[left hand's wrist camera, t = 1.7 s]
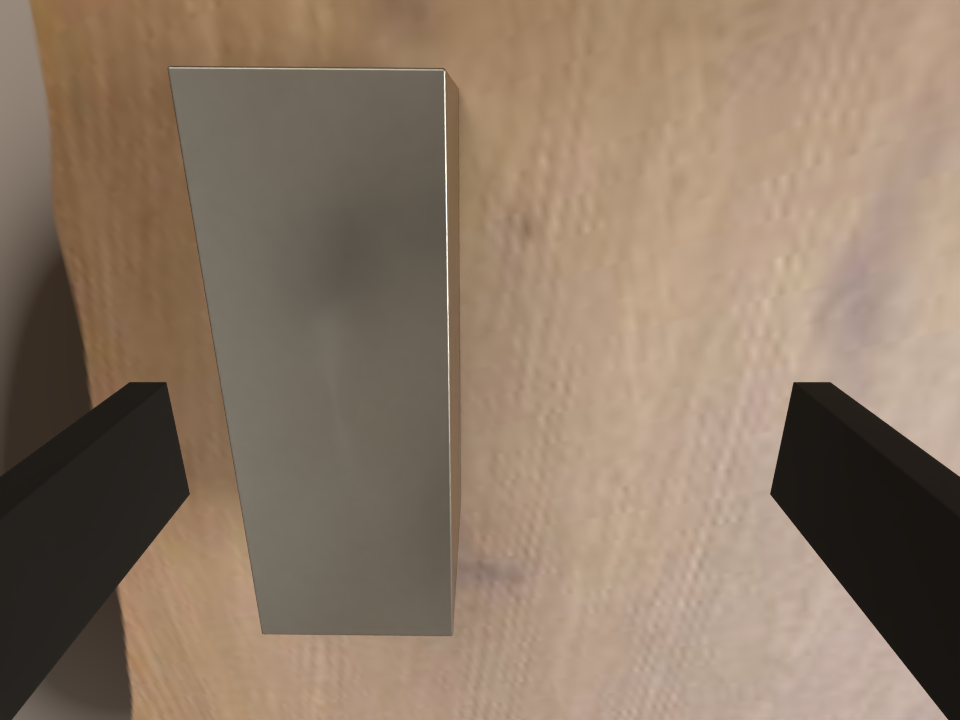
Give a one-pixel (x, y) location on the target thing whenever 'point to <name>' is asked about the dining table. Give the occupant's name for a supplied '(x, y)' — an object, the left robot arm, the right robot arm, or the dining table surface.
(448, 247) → the box
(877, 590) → the left robot arm
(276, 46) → the dining table surface
